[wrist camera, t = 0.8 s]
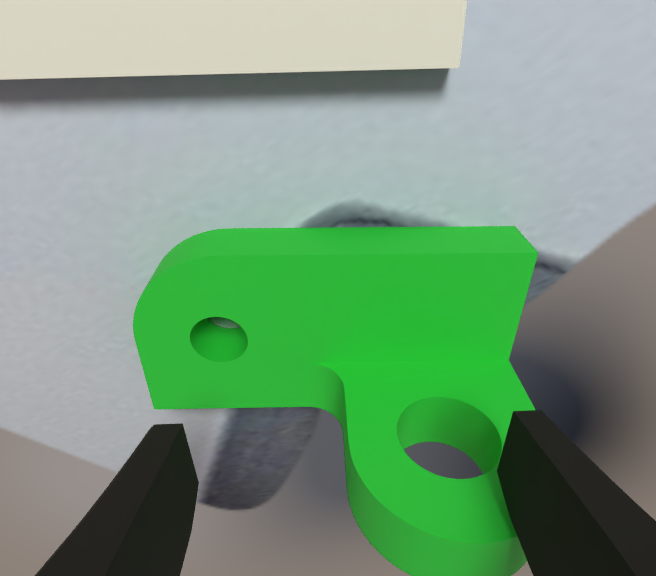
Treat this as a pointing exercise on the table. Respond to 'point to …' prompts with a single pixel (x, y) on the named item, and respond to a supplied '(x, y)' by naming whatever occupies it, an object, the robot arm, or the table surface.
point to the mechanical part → (361, 363)
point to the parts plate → (225, 36)
